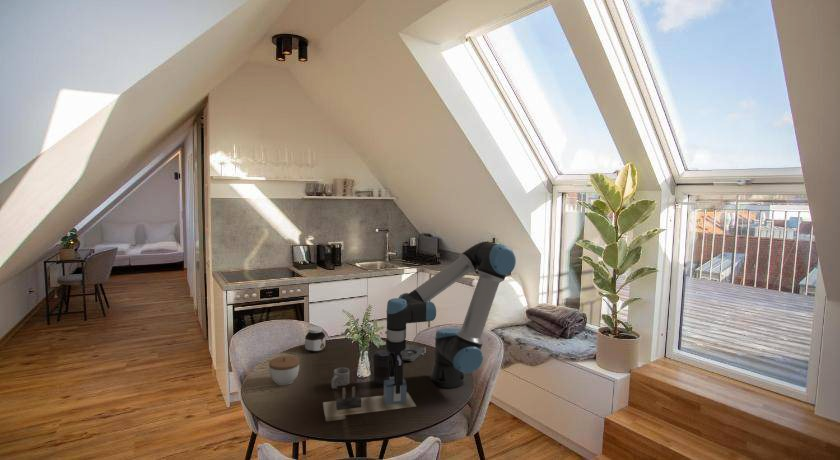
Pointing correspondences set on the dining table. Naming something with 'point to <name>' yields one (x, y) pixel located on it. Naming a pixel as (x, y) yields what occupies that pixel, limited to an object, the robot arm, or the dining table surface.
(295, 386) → the dining table surface
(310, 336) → the spread jar
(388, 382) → the block
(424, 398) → the dining table surface
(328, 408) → the board
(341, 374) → the mug
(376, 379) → the camera lens
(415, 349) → the graphics card
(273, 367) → the lidded bowl
